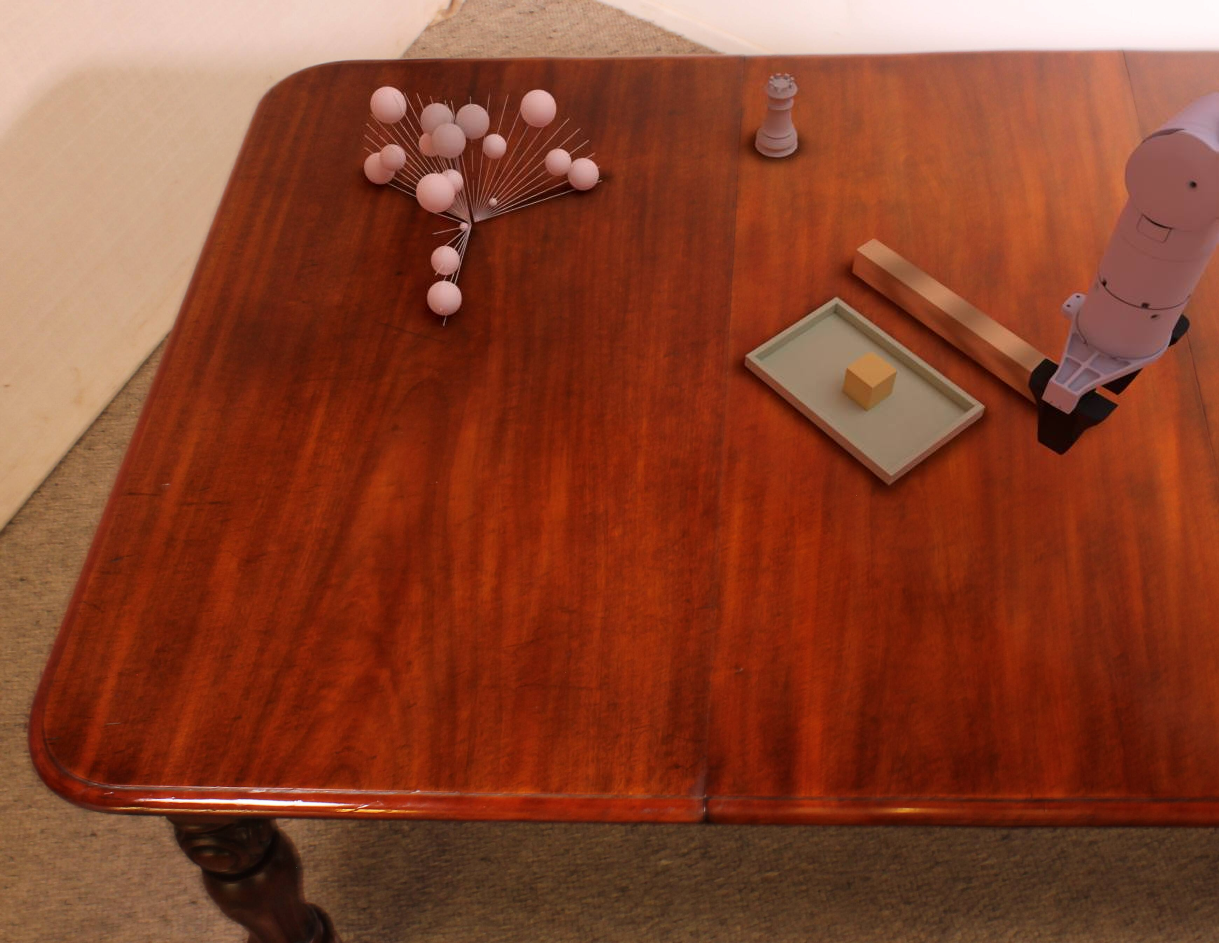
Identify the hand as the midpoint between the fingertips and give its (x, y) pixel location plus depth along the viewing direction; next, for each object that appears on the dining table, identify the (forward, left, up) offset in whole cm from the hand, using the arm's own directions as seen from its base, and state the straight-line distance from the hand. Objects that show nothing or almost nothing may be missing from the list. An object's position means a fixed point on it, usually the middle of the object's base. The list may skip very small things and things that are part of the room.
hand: (1080, 415), depth 79 cm
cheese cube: (+15, -6, -9) cm, 19 cm away
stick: (+8, -14, -9) cm, 19 cm away
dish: (+16, -6, -9) cm, 19 cm away
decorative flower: (+57, -14, -9) cm, 59 cm away
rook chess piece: (+31, -37, -9) cm, 49 cm away
